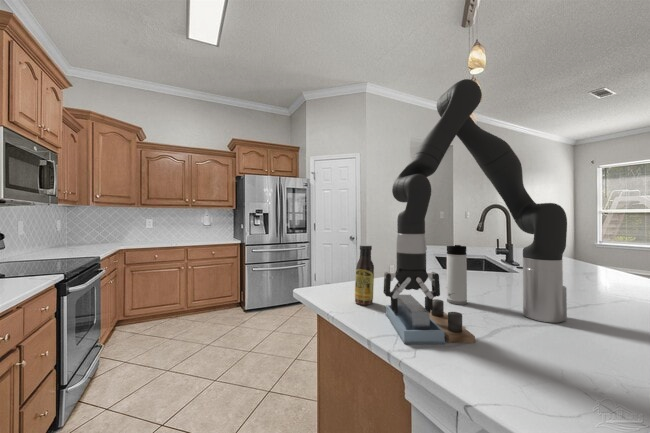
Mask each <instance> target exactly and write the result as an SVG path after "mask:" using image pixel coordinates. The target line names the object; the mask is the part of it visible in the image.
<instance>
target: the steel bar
mask: <svg viewBox="0 0 650 433" xmlns="http://www.w3.org/2000/svg"><path fill="white" fill-rule="evenodd" d="M397 299H398V313H397V316H398V318H399V319H400V320H401V322H402V323H403V325H404V326H405V328H406V329H407V330H430V313H429V312H428V311H427V310H426V309H425V306H423V305H422V304H421V303H420V302H419V301H418V300H417V299H416V298H415V297H414V296H412V295H411V294H399V295H398V296H397Z"/></svg>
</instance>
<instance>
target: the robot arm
mask: <svg viewBox="0 0 650 433" xmlns="http://www.w3.org/2000/svg"><path fill="white" fill-rule="evenodd" d="M482 94H483V93H482V88H481V87H480V85H479V84H478V83H477V82H476V81H475V80H473V79H470V78H469V79H468V78H465V79H462V80H459V81H457V82H456V83H454V84H453V85H452V86H450V87H449V89H447V90H446V91H445V92H444V93H443V94H442V95H441V96H440V97H439V98H438V99H437V101H436V110H437V113H438V115H439V116H440V118H439V119H438V121H437V123H436V124H435V125H434V126H433V127H432V129H431V130H430V131H429V132H428V134H427V135H426V136H425V138H424V139H423V140H422V142H421V143H420V145H419V146H418V148H417V150H416V152H415V153H414V156H413V157H412V159H411V161H410V162H409V163H408V164H407V165H405V167H404V168H403V169H402V171H400V173H399V174H398V175H397V177H396V178H395V180H394V182H393V185H392V188H391V189H392V191H391V192H392V196H393V198H394V199H395V200H396V201H397V202H399V203H406V205H405V209H404V210H402V211H401V212H399V213H398V215H397V225H396V226H397V228H396V229H397V231H396V232H397V236H396V271H395V272H389V271H385V272H384V276H383V277H384V278H383V294H384V295H385V296H386V297H388V298H390V305H391V309H392V310H393V311H394V313H398V299H397V296H398V295H401V294H402V292H403V291H404V290H406V291H411V290H414V291H419V290H421V291H422V292H423V294H424V295H425V297H424V308H425V309H426V310H427V311H428V312H429V313H430V312H431V311H432V309H433V299H435V298H436V297H440V296H441V288H440V287H441V285H440V284H441V283H440V274H438V273H437V272H435V271H431V272H429V273H428V272H427V249H428V248H427V240H426V239H427V238H426V215H427V212H428V209H429V204H430V201H431V197H432V185H431V182H430V179H428V178H429V177H430V176H432V175H434V174H435V172H436V171H437V170H438V168H439V166H440V165H441V162H442V160H443V159H444V157H445V155H446V153H447V151H448V149H449V148H450V146H451V144H452V143H453V141H454V139H455V137H456V136H457V138H458V139H459V140H460V141H461V143H462V144H463V145H464V147H465V148H466V149H467V151H468V152H469V154H471V156H472V157H473V159H474V160H475V162H476V164H477V165H478V166H479V168H480V169H481V171H482V172H483V173H484V175H485V176H486V177H487V179H488V180H489V182H490V183H491V185H492V186H493V187H494V188H495V191H496V192H497V193H498V194H499V196H500V198H501V199H502V200H503V202H504V204H505V205H506V207H507V210H508V211H509V213H510V214H511V217H512V219H513V220H514V222H515V223H516V225H517V227H518V228H519V229H520V230H521V231H522V232H524V233H525V234H529V235H533V239H532V240H533V241H532V243H531V244H529V245H527V246H525V247H523V249H522V314H523V316H524V317H526V318H528V319H531V320H535V321H538V322H545V323H555V324H556V323H558V324H559V323H562V322H566V321H568V318H567V317H568V314H567V313H568V308H567V305H568V303H567V301H568V300H567V294H568V293H567V291H568V290H567V287H566V286H565V285H564V284H563V283H564V280H563V278H564V277H563V276H564V275H563V274H564V271H563V255H564V253H565V250H566V247H567V237H568V236H567V234H568V232H567V231H568V218H567V213H566V211H565V209H564V208H563V207H562V206H561V205H559V204H558V203H554V202H544V203H536V202H535V201H534V200H533V199H532V197H531V195H529V193H528V192H527V190H526V188H525V185H524V181H523V179H524V178H523V177H524V176H523V167H522V163H521V161H520V158H519V157H518V155H517V154H516V153H515V151H514V150H513V148H512V147H511V146H510V145H509V143H508V142H507V141H506V140H504V139H502V138H501V137H498V136H497V135H494V134H492V133H490V132H489V131H486V130H484V128H481V127H480V126H479V125H478V124H477V123H476V122H475V121H474V120H473V118H472V117H471V115H472V114H473V113H474V111H475V110H477V108H478V107H479V105H480V103H481V102H482V98H483V95H482ZM394 278H395V280H397V283H396V284H395V285H394V287H393V289H392V290H391V286H392V285H391V282H393V281H394ZM428 279H429V281H430V282H431V291H430V289H429V288H428V286H427V285H426V284H425V283H426V281H428Z"/></svg>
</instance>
